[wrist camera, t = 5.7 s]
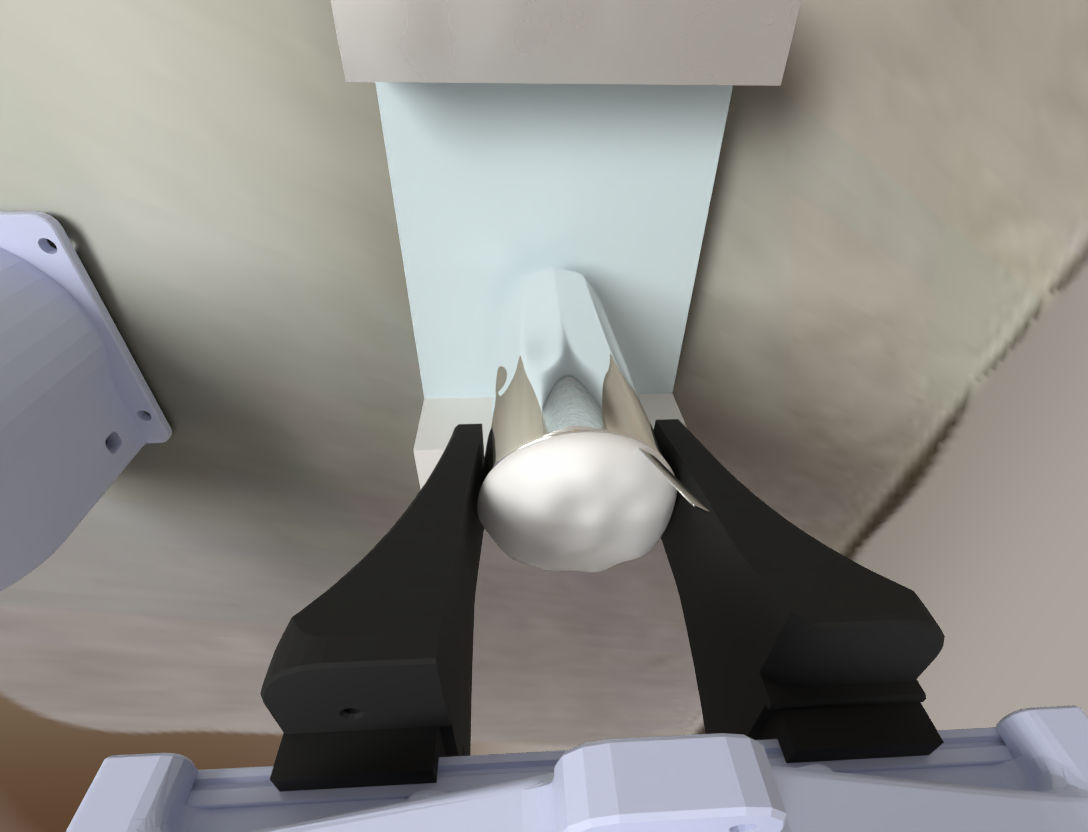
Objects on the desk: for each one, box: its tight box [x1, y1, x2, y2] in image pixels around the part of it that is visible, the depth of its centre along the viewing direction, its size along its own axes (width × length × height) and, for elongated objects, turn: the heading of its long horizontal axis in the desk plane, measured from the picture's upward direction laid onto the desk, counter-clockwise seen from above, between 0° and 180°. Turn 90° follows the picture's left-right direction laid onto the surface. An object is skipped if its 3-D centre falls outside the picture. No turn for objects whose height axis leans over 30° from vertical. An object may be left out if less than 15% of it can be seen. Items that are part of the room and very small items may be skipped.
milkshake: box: [477, 266, 710, 572], centre depth 14 cm, size 4×5×10 cm
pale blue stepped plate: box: [375, 82, 733, 489], centre depth 16 cm, size 19×10×4 cm, turn 179°
